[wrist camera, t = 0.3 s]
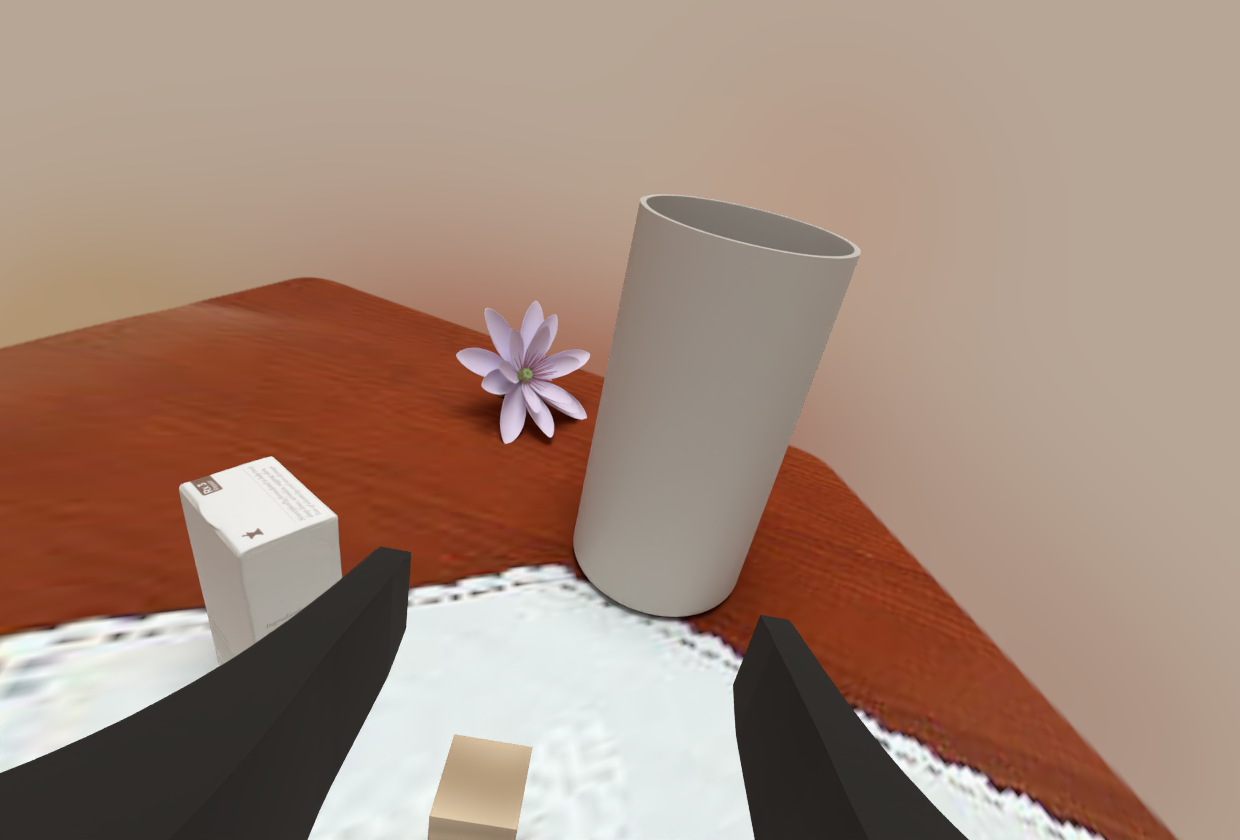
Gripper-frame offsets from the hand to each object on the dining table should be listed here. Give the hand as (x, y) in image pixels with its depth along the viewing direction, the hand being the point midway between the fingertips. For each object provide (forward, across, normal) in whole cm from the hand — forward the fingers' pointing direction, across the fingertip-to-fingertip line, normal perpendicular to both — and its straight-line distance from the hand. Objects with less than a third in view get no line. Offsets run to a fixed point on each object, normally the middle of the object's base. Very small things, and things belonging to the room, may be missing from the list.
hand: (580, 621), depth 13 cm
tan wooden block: (+5, +2, +21) cm, 22 cm away
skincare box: (+13, +14, +21) cm, 28 cm away
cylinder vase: (+28, -6, +20) cm, 35 cm away
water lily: (+45, +6, +19) cm, 50 cm away
